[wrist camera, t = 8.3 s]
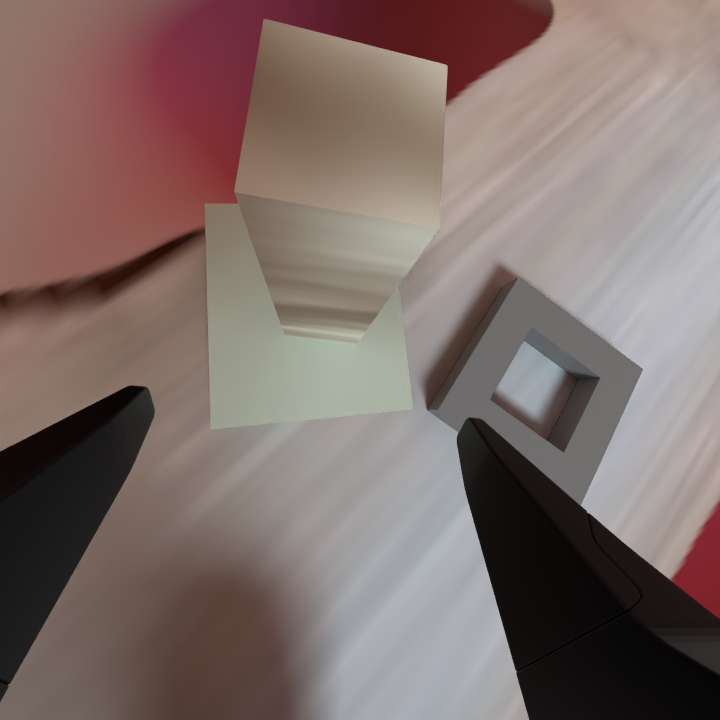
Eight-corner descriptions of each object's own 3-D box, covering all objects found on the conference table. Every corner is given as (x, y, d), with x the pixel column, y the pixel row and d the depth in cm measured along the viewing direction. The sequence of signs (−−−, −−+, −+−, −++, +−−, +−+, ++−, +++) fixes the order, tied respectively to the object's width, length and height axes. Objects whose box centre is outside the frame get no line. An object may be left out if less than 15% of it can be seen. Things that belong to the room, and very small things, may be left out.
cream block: (356, 343, 20) (439, 228, 7) (284, 335, 19) (234, 191, 6) (363, 277, 21) (447, 65, 8) (293, 266, 20) (263, 18, 7)
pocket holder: (556, 501, 23) (578, 510, 21) (427, 409, 23) (437, 409, 21) (618, 372, 26) (642, 369, 24) (502, 287, 26) (518, 276, 24)
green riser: (399, 409, 23) (413, 409, 20) (224, 426, 21) (210, 429, 18) (379, 229, 25) (389, 205, 22) (218, 229, 23) (204, 203, 20)
